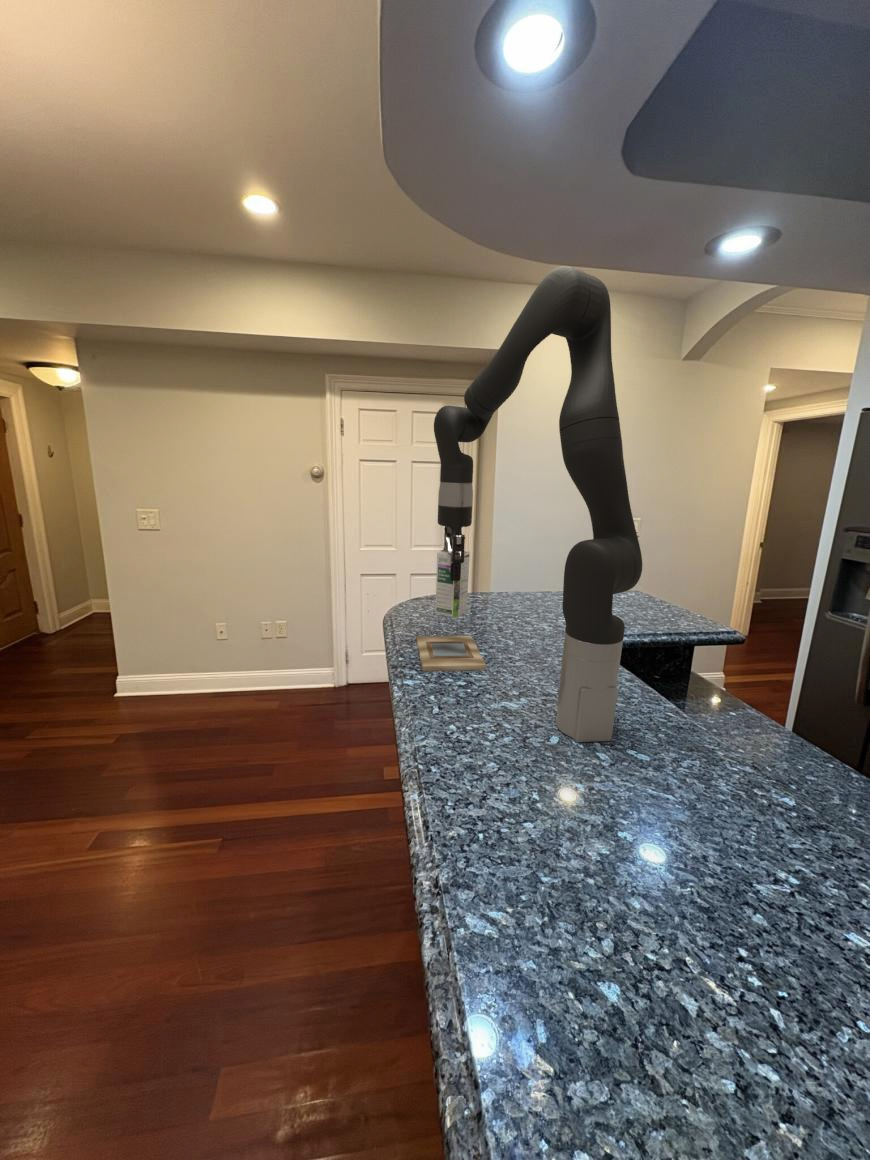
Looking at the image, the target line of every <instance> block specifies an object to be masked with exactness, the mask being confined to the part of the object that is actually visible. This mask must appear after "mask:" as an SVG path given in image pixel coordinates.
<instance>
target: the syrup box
mask: <svg viewBox="0 0 870 1160" xmlns="http://www.w3.org/2000/svg"><path fill="white" fill-rule="evenodd" d="M470 553H471V552H470V551H466V550H464V563H462V564H461V578H460V580H459V581H451V579H450V566H451V563H450V555H448V551H447V549H444V550H443V549H441V550H439V551H438V552H437V553H436V554H437V555H436V556H437V557H436V583H435V587H436V589H435V607H434V614H435V615H442V616H446V617H451V618H455V619H457V618H459V617H460V616H462V615H464V614H465V613H466V612H467V609H468V594H469V592H468V590H469V574H470V573H469V572H470V556H471V555H470ZM455 557H459V555H455Z"/></svg>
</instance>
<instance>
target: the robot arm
mask: <svg viewBox="0 0 870 1160" xmlns="http://www.w3.org/2000/svg"><path fill="white" fill-rule="evenodd" d="M611 308H612V307H611V299H610V294H609V290H608V287H607V286H606V285H605V283H604V282H603V281H602V280H601V279H600V278H598V277H596V276H595V275H592V274H589V273H587V272H585V271H583V270H579V269H577V268H576V267H573V266H569V265H561V266H557V267H554V269H552V270H551V271H549V272H547V274H546V275H545V276H544V277H543V279H542V280H540V282H539V284H538V285H537V286H536V288H535V289H534V291H533V292H532V294H531V296H530V297H529V299H528V301H527V302H526V304H525V306H523V309H522V310H521V312H520V314H519V316H518V317H517V319H516V320H515V322H514V323H513V325H512V327H511V328H510V330H509V332H508V334H507V335H506V337H505V338H504V340H503V342H502V343H501V345H500V347H499V348H498V349H497V351H496V353H495V354H494V355H493V357H492V358H491V360H490V361H489V362H488V364H487V365H486V366H485V367H484V368H483V370H482V371H481V372H480V373H478V376H476V378H475V379H474V380H473V381H472V382H471V383H470V385H469V386H468V387H467V388H466V390H465V392H464V396H463V400H464V404H465V406H464V407H462V406H457V405H456V406H455V405H444V406H442V407H441V408H439V409H438V411H437V412H436V414H435V417H434V420H433V433H434V437H435V442H436V446H437V451H438V452H437V453H438V456H439V461H440V473H439V475H440V476H439V488H438V499H437V501H438V502H437V524H438V525H439V526H442V527H444V533H443V534H444V535H443V549H442V550H444V549H447V551H448V555H450V563H451V566H450V579H451V581H459V580H460V578H461V564H462V563H464V551H465V542H466V536H465V534H463V533H462V528H466V527H467V528H469V527H470V526H472V523H473V522H472V520H473V503H474V502H473V501H474V490H473V482H474V480H473V479H474V460H473V459H474V458H473V457H472V456H471V455H469V454H466V453H464V452H462V450H461V447H460V443H472V442H475V441H477V440H478V439H479V438H480V437H482V435H483V434H484V432H485V431H486V429H487V426H488V425H489V423H490V421H491V419H492V418H493V416H494V414H495V413H496V411H497V410H499V409H500V408H501V406H502V405H503V404H504V403H505V402H506V401H507V400H508V399H509V398H510V397H511V396H512V395H513V393H514V392H515V391H516V389H517V387H518V385H519V384H520V382H521V379H522V376H523V373H524V369H525V365H526V362H527V360H528V358H529V357H530V355H531V353H532V352H533V350H535V348H537V346H539V344H541V342H543V341H544V340H545V339H546V338H548V337H549V336H550V335H556V336H559V337H562V338H564V339H565V340H566V343H567V346H568V350H569V352H568V353H569V358H570V366H571V367H570V369H571V371H570V372H571V375H570V381H569V386H568V388H567V391H566V395H565V396H564V400H563V403H562V406H561V410H560V414H559V419H558V420H559V421H558V428H559V429H558V430H559V431H558V432H559V437H560V446H561V453H562V459H563V463H564V466H565V469H566V471H567V473H568V474H569V477H570V479H571V480H572V482H573V483H574V485H575V487H576V489H577V491H578V492H579V494H580V496H581V497H582V499H583V501H584V503H585V504H586V507H587V509H588V512H589V517H590V522H591V527H592V528H591V529H592V536H593V538H592V539H584V540H582V541H581V540H580V541H578V542H577V543H576V544H575V545H573V546H572V548H570V550H569V552H568V555H567V556H566V559H565V564H564V572H563V588H562V590H563V591H562V613H563V618H564V622H565V628H564V630H565V631H564V638H563V647H562V655H561V656H562V657H561V658H562V659H561V667H560V677H559V686H558V694H557V695H558V698H557V707H556V719H555V725H556V727H557V729H558V730H559V731H561V733H563V734H564V735H566V736H567V737H570V738H572V739H573V740H574V741H575V742H576V743H587V742H611V741H612V739H613V730H614V724H615V716H616V709H617V702H618V695H619V694H618V693H619V689H618V686H617V685H618V679H619V672H620V666H621V665H620V664H621V656H622V650H623V645H624V644H623V643H624V637H625V629H626V626H625V622H624V621H623V620H622V619H621V618H620V617H619V616H617V615H615V614H613V600H614V598H613V597H614V595H616V594H620V593H621V594H622V593H625V592H627V591H629V590H632V589H633V588H635V586H636V585H637V584H638V583H639V581H640V579H641V576H642V573H643V556H642V551H641V545H640V541H639V537H638V533H637V529H636V525H635V521H634V517H633V513H632V508H631V502H630V497H629V489H628V481H627V474H626V467H625V460H624V452H623V449H624V448H623V441H622V439H623V438H622V431H621V430H622V429H621V424H620V416H619V415H620V414H619V409H618V405H617V404H618V403H617V394H616V384H615V383H616V382H615V375H614V374H615V373H614V367H613V358H612V314H611V313H612V312H611V311H612V310H611ZM455 555H459V557H455Z"/></svg>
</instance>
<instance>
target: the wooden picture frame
mask: <svg viewBox="0 0 870 1160" xmlns="http://www.w3.org/2000/svg"><path fill="white" fill-rule="evenodd" d="M415 642H416V644H417V645H416V646H417V650H418V655H419V660H420V664H421V669H422V672H450V671H451V672H452V671H453V672H456V671H457V672H459V671H462V672H463V671H487V663H486V662H485V659H484V658H483V657H482V654H481V652H480V650H479V647H478V646H477V644H476V642H475V641H474V638H473V637H472V635H425V636H424V635H421V636H419V635H417V636H416V641H415Z"/></svg>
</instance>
